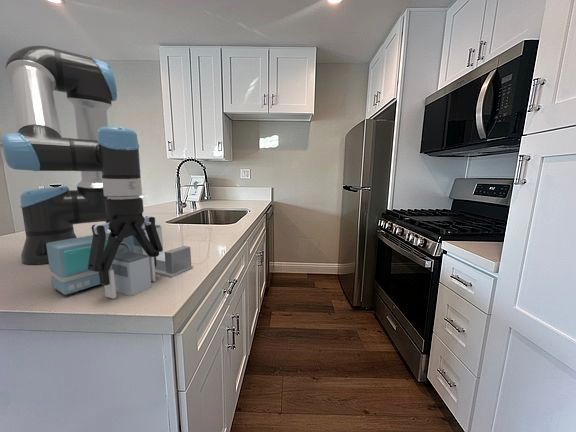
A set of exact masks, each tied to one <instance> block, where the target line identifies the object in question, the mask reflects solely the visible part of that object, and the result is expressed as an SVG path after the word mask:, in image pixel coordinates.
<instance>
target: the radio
mask: <svg viewBox="0 0 576 432" xmlns="http://www.w3.org/2000/svg"><path fill="white" fill-rule="evenodd" d="M110 232H111V231H110ZM110 232H109V231H108V232H107V233H106V240H105V246H104V250H105V247H106V245H107V243H108V237H109V234H110ZM116 237H117V236H116ZM92 239H93V234H91V235H87V236H86V235H85V236H80V237H79V236H78V237H77V238H72V239H66V240H60V241H54V242H48V243H46V247H47V253H48V260H49V263H48V267H49V273H50V279H51V286H52V287H53V288H54V289H55V290H57V291H58V292H60V293H61V294H63V295H64V296H65V295H69V294H71V295H76V294H78V293H79V291H82V290H85V289H89V288H91V287H95V286H99V285H101V284H100V278H99V272H95V271H91V270H88V262H89V257H90V251H91V245H92ZM126 252H134V242H133V236H129V237H127V238H124V239H123V241H122V242H121V243H120V245H119V247H118V250H117V252H116V255H119V254H123V253H126ZM116 255H115V256H116ZM110 269H111V268H110Z"/></svg>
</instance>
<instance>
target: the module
mask: <svg viewBox="0 0 576 432" xmlns="http://www.w3.org/2000/svg"><path fill="white" fill-rule="evenodd" d="M110 268H111V270H114V279H115V288H116V293H117V292H118V293H120V294H124V295H128V296H130V297H133V296H135V295H138V294H140V293H142V292H144V291H147V290H149V289H151V288H152V281H151V277H150V264H149V257H148V255H144V254H139V253H134V252H126V253H123V254H119V255H116V256H115V257H114V259H113V262H112V264H111V267H110Z"/></svg>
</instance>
